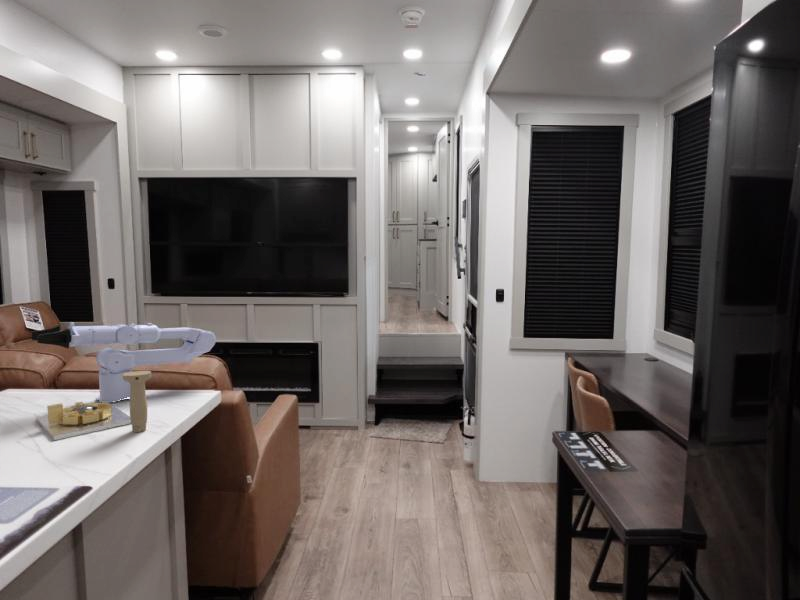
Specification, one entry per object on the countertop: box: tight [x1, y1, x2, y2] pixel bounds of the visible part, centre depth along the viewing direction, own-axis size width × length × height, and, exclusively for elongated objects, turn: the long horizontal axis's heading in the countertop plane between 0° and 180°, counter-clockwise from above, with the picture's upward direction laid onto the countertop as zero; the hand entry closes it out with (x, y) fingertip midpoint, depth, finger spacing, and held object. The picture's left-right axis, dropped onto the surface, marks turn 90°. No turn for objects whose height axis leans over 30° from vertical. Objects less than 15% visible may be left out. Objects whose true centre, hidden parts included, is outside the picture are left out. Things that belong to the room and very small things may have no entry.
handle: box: [123, 370, 152, 433], centre depth 128 cm, size 5×6×15 cm
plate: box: [35, 403, 131, 441], centre depth 134 cm, size 18×20×4 cm
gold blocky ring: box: [47, 401, 112, 425], centre depth 134 cm, size 14×12×5 cm
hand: (34, 337), depth 139 cm, fingers open, 7 cm apart
